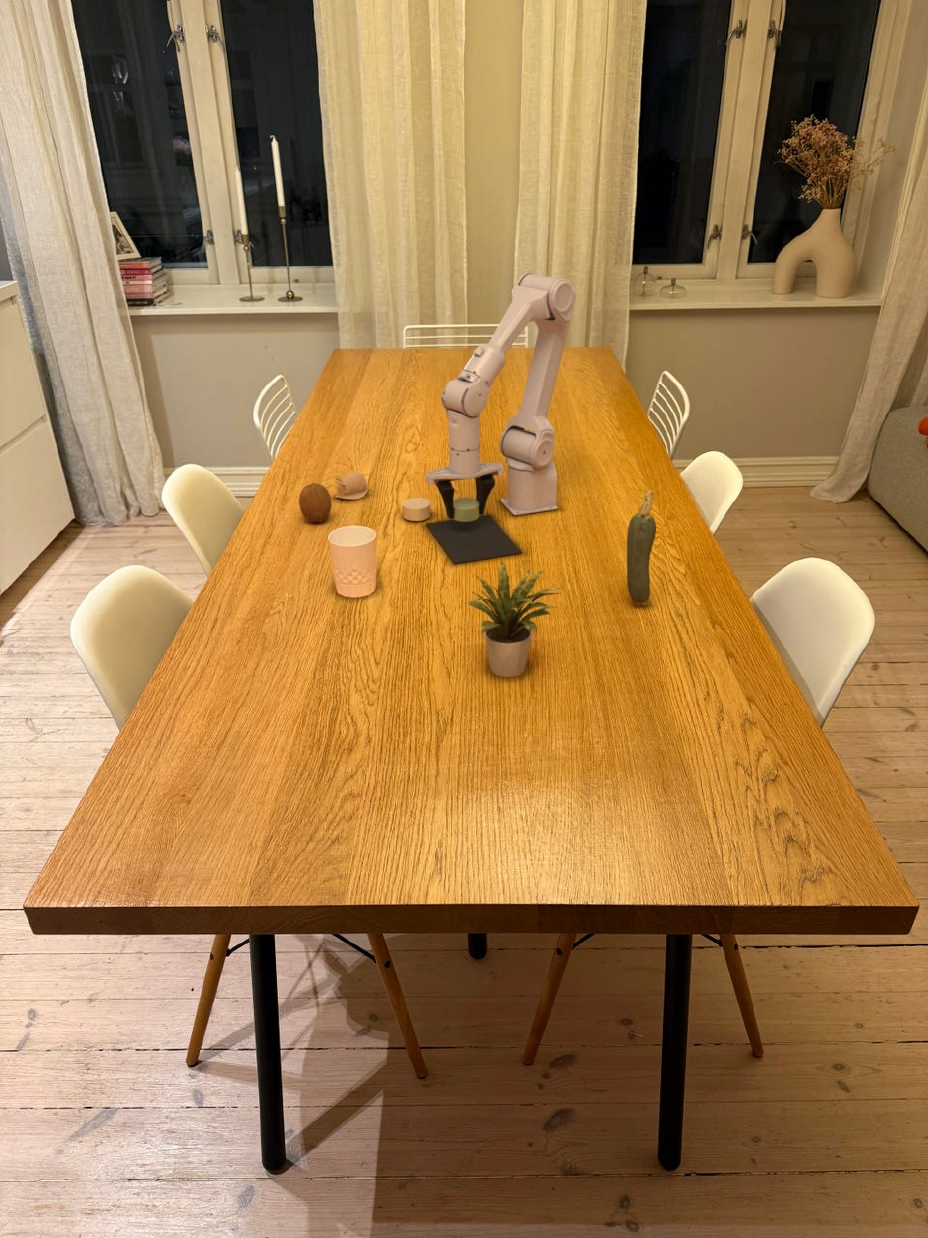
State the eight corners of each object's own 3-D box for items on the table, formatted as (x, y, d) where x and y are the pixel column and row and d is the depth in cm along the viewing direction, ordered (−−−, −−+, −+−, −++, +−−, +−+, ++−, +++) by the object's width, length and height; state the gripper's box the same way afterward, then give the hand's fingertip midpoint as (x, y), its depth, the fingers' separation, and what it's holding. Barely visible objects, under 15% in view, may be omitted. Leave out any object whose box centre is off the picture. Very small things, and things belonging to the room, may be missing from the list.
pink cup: (386, 581, 165) (383, 528, 160) (367, 603, 159) (363, 548, 154) (345, 575, 168) (340, 523, 163) (324, 596, 161) (319, 542, 156)
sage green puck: (474, 510, 185) (473, 496, 183) (483, 520, 180) (483, 506, 179) (447, 514, 183) (447, 499, 182) (456, 525, 179) (455, 510, 177)
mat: (488, 515, 189) (488, 514, 189) (522, 553, 174) (522, 551, 174) (425, 525, 185) (425, 523, 185) (454, 564, 171) (454, 562, 170)
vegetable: (632, 613, 155) (641, 498, 145) (616, 602, 158) (624, 489, 148) (654, 607, 156) (665, 492, 146) (638, 596, 160) (648, 483, 150)
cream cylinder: (426, 509, 192) (425, 496, 191) (433, 520, 188) (433, 506, 186) (399, 513, 191) (399, 499, 189) (407, 524, 186) (406, 510, 185)
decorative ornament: (373, 494, 199) (371, 470, 196) (339, 505, 195) (337, 480, 192) (362, 489, 202) (360, 465, 199) (328, 499, 197) (326, 475, 195)
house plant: (524, 711, 132) (527, 607, 123) (440, 682, 138) (437, 582, 130) (571, 663, 142) (576, 564, 134) (490, 638, 148) (491, 543, 140)
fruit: (339, 520, 188) (336, 482, 184) (314, 530, 184) (311, 492, 180) (319, 512, 192) (315, 474, 188) (294, 522, 188) (290, 483, 184)
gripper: (494, 434, 180) (494, 501, 187) (420, 443, 176) (422, 512, 183) (507, 446, 174) (506, 515, 181) (431, 456, 170) (433, 526, 177)
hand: (465, 514), depth 181 cm, fingers closed on sage green puck, 5 cm apart
